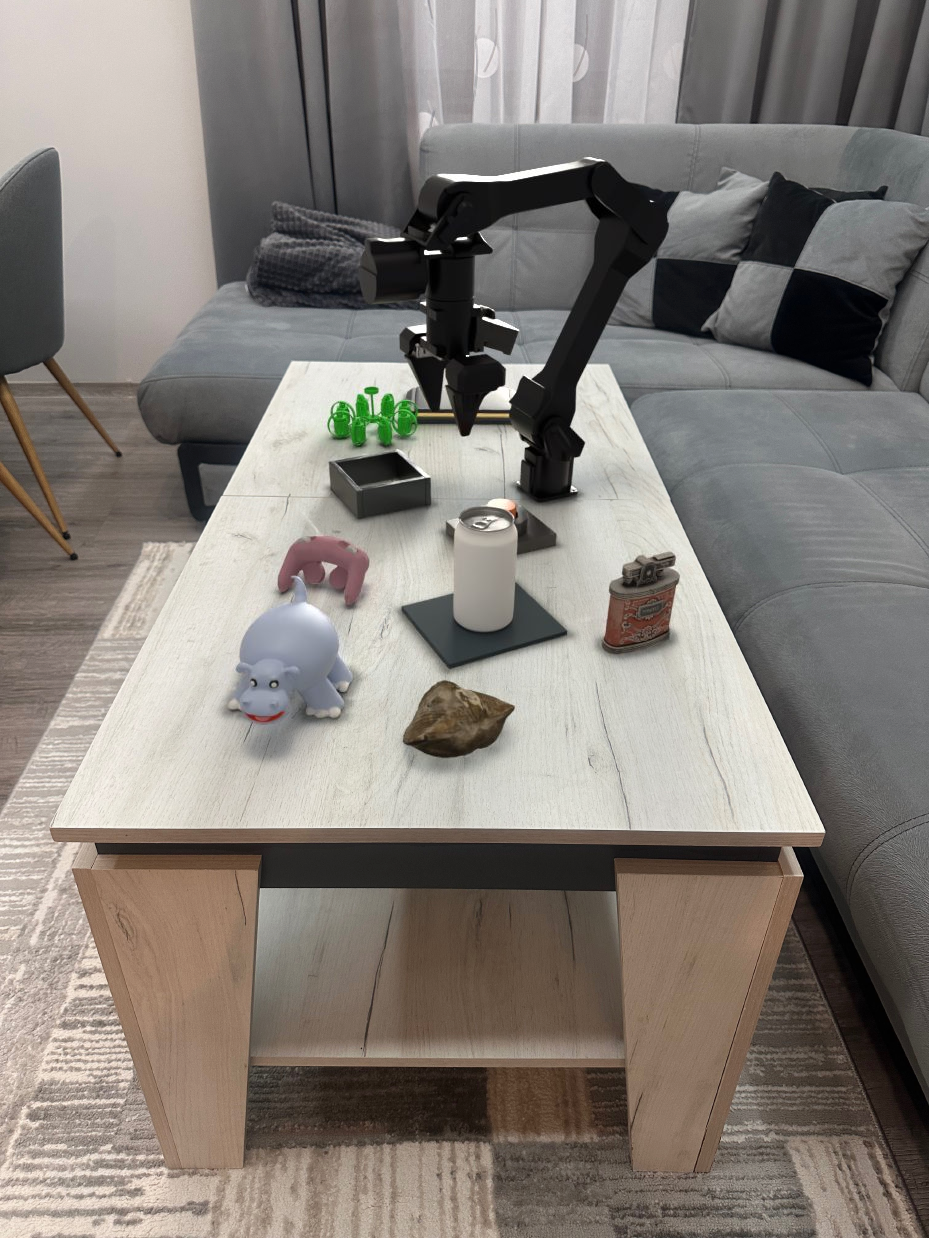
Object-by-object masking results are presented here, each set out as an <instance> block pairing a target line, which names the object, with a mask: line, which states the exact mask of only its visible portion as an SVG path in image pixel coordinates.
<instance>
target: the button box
mask: <svg viewBox="0 0 929 1238" xmlns="http://www.w3.org/2000/svg"><path fill="white" fill-rule="evenodd" d="M482 506H487V504H483V505H482ZM458 522H459V517H458V518H453V519H448V520H445V533H446V534H447V536H449V537H450V538H451V539H452V540H453V541H454V533H455V528H456V526H457V524H458ZM514 525H515V527H516V529H517V535H518V536H517V556H518V555H522V554H526V553H531V552H534V551H539V550H542V549H546V548H551V547H555V546H556V545H557V536H558V533H557V532H555V531H554V530H553V529H552V528H550V527H549V526H548V525H547V524H545V522H543V521H542V520H541V519H540V518H538V517H537V516H536V515H534V514H533V513H531V512H530V511H529V510H528V509H526V508H525V507H524V506H523V505H522V504H518V505H516V518H515V520H514Z"/></svg>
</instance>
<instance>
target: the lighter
mask: <svg viewBox="0 0 929 1238" xmlns="http://www.w3.org/2000/svg"><path fill="white" fill-rule="evenodd" d="M676 559H677V556H676V555H675V553H674V552H673V551H671V550H670V551H666V552H662V553H657V554H653V555H652V556H649V557H647V556H646V555H644V554H641V555H638V556H636V557H635V559H634V560H633V561H630V562H627V563H623V565H622V569H621V575H622V576H620V577H618V578H615V579H613V580H612V581H610V583H609V586H608V593H609V599H608V609H607V616H606V624H605V632H604V636H602V640H601V648H602V649H603V651H605V652H606V653H608V654H610V655H615V656H619V655H625V654H631V653H635V652H639V651H644V650H647V649H649V648H653V647H655V646H657V645H660V644H662V643H664V642H665V641H667V640H668V639H669V638H670V634H671V627H670V625H671V619H672V613H673V606H674V601H675V595H676V589H677V586H678V585H679V583H680V578H681V575H680V573H679V572H678V571H677V570H675V569H673V568H671V567H675V565H676Z"/></svg>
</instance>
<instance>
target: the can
mask: <svg viewBox="0 0 929 1238" xmlns="http://www.w3.org/2000/svg"><path fill="white" fill-rule="evenodd" d="M458 518H459V522H458V524H457V526H456V528H455V533H454V540H453V593H454V596H453V611H454V618H455V620H456V621H457V622H458V623H459V624H460V625H461V626H462V627H463V628H465V629H467V630H470V631H473V632H480V633H489V632H495V631H498V630H501V629H503V628H504V627H506V626H507V625H508V624H509V623H510V622H511V621H512V618H513V610H514V594H515V582H516V575H517V574H516V573H517V558H518V557H517V556H518V555H517V536H518V535H517V529H516V527H515V525H514V516H513V515H512V514H511V513H510V512H509V511H507V510H505V509H502V508H499V507H494V506H483V505H477V506H471V507H469V508H466V509H464V510H463V511H461V512H460V513H459V515H458Z"/></svg>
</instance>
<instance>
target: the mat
mask: <svg viewBox="0 0 929 1238" xmlns="http://www.w3.org/2000/svg"><path fill="white" fill-rule="evenodd" d="M453 596H454V592H452V593H449V594H445V595H441V596H437V597H433V598H429V599H425V600H420V601H417V602H413V603H408V604H406V605H402V606H401V612H402V613H403V614H404V616H405V617H406V618H407V619H408V621H410V622H411V624H412V626H413V627H414V628H415V629H416V630H417V632H418V633H419V634H420V636H421V637H423V639H424V640H425V641H426V642H427V644H428V645H429V646H430V647H431V648H432V650H433V651H434V652H435V654H437V656H438V657H439V659H441V661H442V662H443V663H444V664H445V665H446V667H447V668H448V669H449V670H451V669H454V668H458V667H462V666H464V665H468V664H472V663H475V662H479V661H482V660H485V659H488V658H492V657H496V656H499V655H502V654H503V655H504V654H506V653H510V652H513V651H517V650H520V649H524V648H527V647H531V646H534V645H538V644H541V643H544V642H548V641H552V640H555V639H558V638H561V637H562V638H563V637H565V636H567V635H568V630H567V629H566V628H565V627H564V626H563V625H562V624H561V623H560V622H559V621H558V620H557V619H556V618H555V617H554V616H553V615H551V613H550V612H549V611H547V610H546V609H545V608H544V607H543V606H542V605H541V604H540V603H539V602H538V601H536V600H535V598H533V597H532V596H531V595H530V594H529V593H528V591H526V590H525V589H524V588H523V587H522V586H521V585H520V584H519V583H517V582H516V581H515V594H514V610H513V618H512V621H511V622H510V623H509V624H508V625H507V626H506V627H504V628H503V629H501V630H498V631H495V632H489V633H480V632H473V631H470V630H467V629H465V628H463V627H462V626H461V625H460V624H459V623H458V622H457V621H456V620H455V618H454V611H453Z"/></svg>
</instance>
